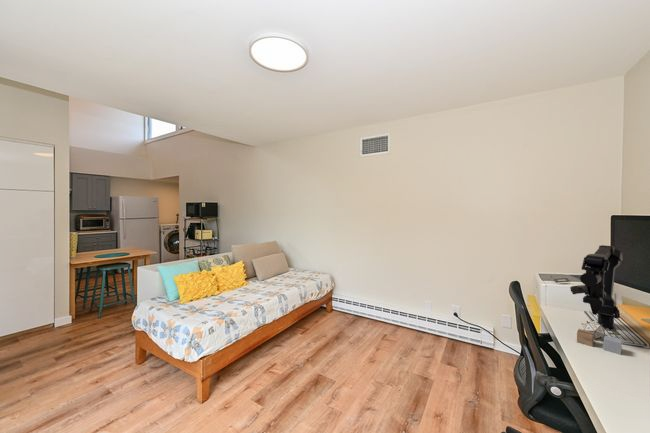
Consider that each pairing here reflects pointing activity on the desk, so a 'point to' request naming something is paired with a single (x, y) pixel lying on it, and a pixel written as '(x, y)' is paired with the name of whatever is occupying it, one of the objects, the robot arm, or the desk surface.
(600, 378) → the desk surface
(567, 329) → the desk surface
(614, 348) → the slate block
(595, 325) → the game die
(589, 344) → the walnut block
